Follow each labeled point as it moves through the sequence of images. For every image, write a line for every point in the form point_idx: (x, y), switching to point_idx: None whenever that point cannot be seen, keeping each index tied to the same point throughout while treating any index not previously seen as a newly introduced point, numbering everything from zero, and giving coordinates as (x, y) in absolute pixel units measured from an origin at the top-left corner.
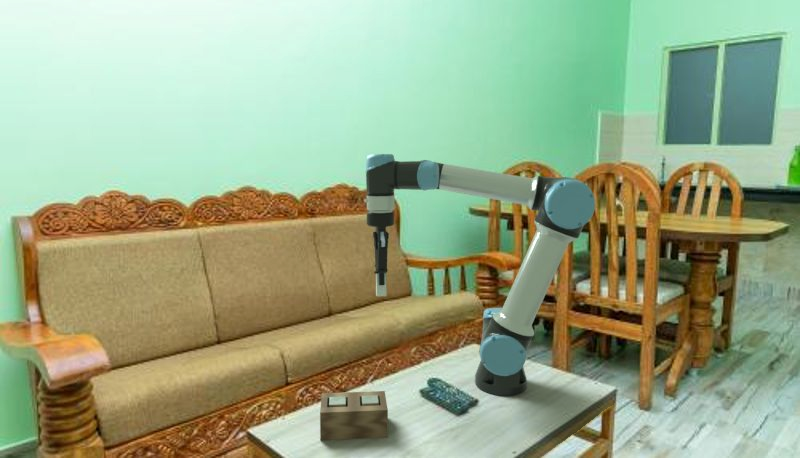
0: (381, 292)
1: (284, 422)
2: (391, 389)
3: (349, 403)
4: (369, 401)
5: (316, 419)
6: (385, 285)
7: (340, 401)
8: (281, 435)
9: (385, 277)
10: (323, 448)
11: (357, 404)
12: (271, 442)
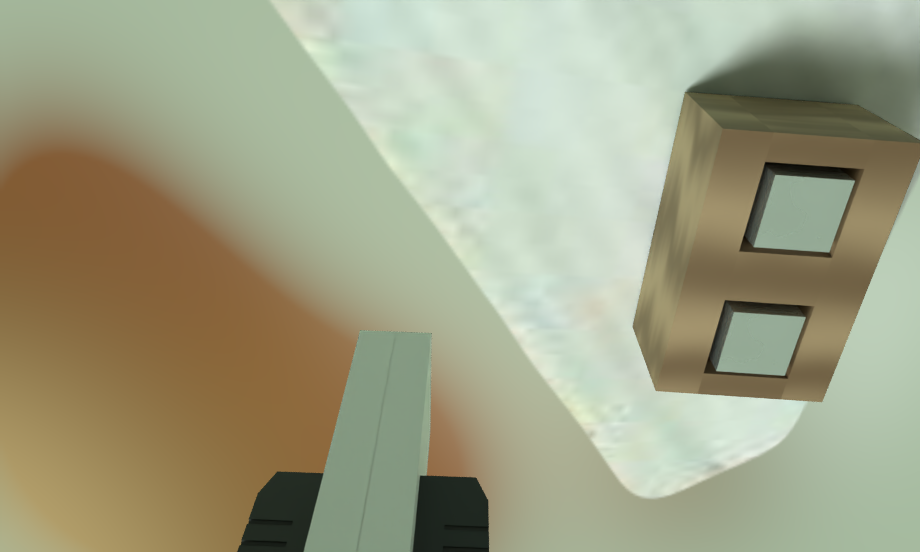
0: (428, 417)
1: (615, 431)
2: (411, 9)
3: (789, 297)
4: (824, 219)
5: (623, 342)
6: (421, 442)
7: (774, 334)
8: (696, 437)
9: (409, 550)
10: None
11: (813, 267)
12: (728, 459)
